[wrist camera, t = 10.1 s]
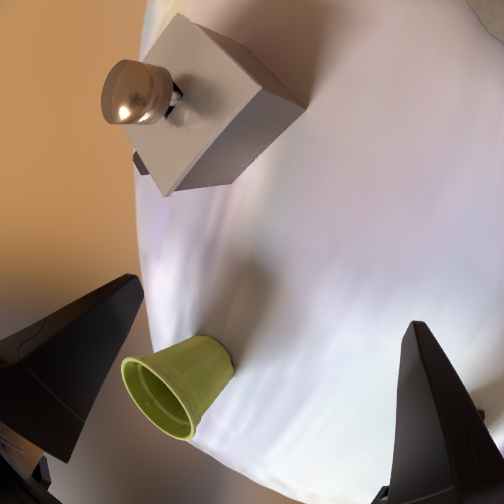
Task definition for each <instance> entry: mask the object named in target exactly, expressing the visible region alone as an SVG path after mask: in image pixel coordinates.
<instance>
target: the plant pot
mask: <svg viewBox="0 0 504 504" xmlns="http://www.w3.org/2000/svg"><path fill="white" fill-rule="evenodd" d="M121 372H122V377H123V380H124V383H125V385H126V387H127V390H128V392H129V394H130V395H131V397H132V399H133V400H134V402H135V403H136V404H137V406H138V407H139V409H140V410H141V411H142V412H143V414H144V415H145V416H146V417H147V418H148V419H149V420H150V421H151V422H152V423H153V424H154V425H156V426H157V427H158V428H159V429H161V430H162V431H163V432H165V433H166V434H168V435H170V436H172V437H174V438H176V439H179V440H190V439H191V438H192V437H193V436H194V435H195V432H196V427H197V425H198V424H199V422H200V420H201V417H202V416H203V414H204V413H205V412H206V410H207V409H208V408H209V407H210V405H211V404H212V403H213V402H214V400H215V399H216V398H217V396H218V395H219V394H220V393H221V391H222V390H223V389H224V388H225V386H226V385H227V384H228V382H229V381H230V380H231V378H232V377H233V374H234V368H233V367H232V364H231V359H230V355H229V354H228V352H227V351H226V349H225V348H224V347H223V346H222V345H221V344H220V343H219V342H217V341H216V340H215V339H213V338H211V337H209V336H200V335H196V336H193V337H191V338H189V339H187V340H184V341H182V342H180V343H178V344H175V345H173V346H171V347H168V348H166V349H164V350H161V351H159V352H156V353H154V354H151V355H144V356H141V357H128V358H126V359H124V360H123V362H122V365H121Z"/></svg>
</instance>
